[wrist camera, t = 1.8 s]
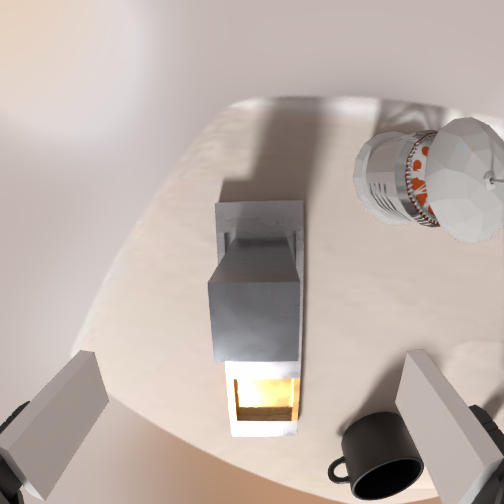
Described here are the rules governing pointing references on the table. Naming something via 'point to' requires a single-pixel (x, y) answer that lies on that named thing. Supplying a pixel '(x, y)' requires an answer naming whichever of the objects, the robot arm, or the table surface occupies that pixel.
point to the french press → (436, 179)
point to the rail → (288, 373)
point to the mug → (378, 457)
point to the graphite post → (255, 302)
